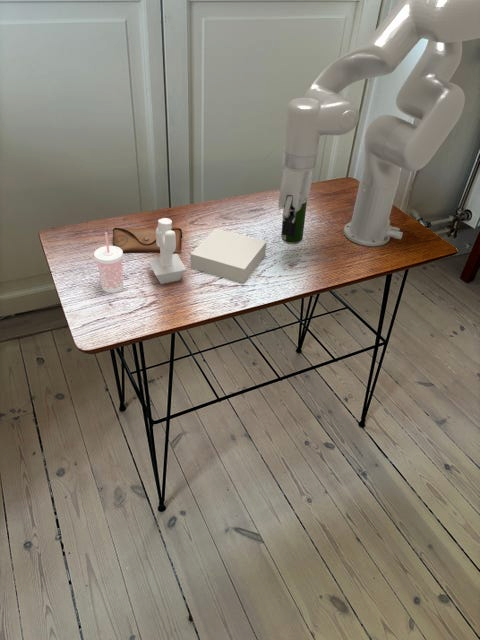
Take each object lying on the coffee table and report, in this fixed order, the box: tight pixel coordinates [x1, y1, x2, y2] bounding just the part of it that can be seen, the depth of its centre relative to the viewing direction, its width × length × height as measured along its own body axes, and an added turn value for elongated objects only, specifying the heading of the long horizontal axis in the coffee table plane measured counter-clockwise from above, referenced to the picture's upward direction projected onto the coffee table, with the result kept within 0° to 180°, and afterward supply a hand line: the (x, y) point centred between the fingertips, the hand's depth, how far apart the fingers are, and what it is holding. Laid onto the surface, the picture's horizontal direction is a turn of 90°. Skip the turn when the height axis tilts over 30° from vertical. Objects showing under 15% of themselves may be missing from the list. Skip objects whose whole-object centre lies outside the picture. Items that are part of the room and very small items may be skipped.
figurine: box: [147, 217, 187, 285], centre depth 116 cm, size 7×9×15 cm
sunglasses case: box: [112, 227, 183, 254], centre depth 130 cm, size 18×7×7 cm, turn 96°
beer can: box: [280, 196, 308, 246], centre depth 124 cm, size 5×5×12 cm
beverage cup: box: [93, 231, 124, 294], centre depth 112 cm, size 6×6×14 cm
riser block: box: [189, 227, 267, 284], centre depth 126 cm, size 14×14×4 cm
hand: (292, 228), depth 126 cm, fingers closed on beer can, 5 cm apart
